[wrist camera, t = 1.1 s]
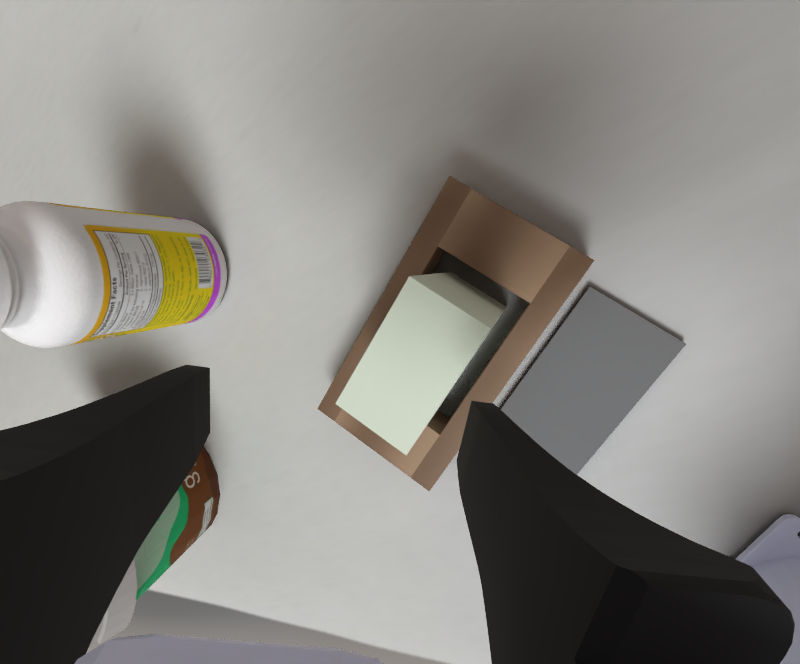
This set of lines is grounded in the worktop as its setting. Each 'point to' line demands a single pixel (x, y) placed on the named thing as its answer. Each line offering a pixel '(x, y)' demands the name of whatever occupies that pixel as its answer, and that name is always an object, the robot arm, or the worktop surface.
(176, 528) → the food container
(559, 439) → the mat
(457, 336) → the sage block
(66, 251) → the supplement bottle
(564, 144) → the worktop surface
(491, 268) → the pocket block
